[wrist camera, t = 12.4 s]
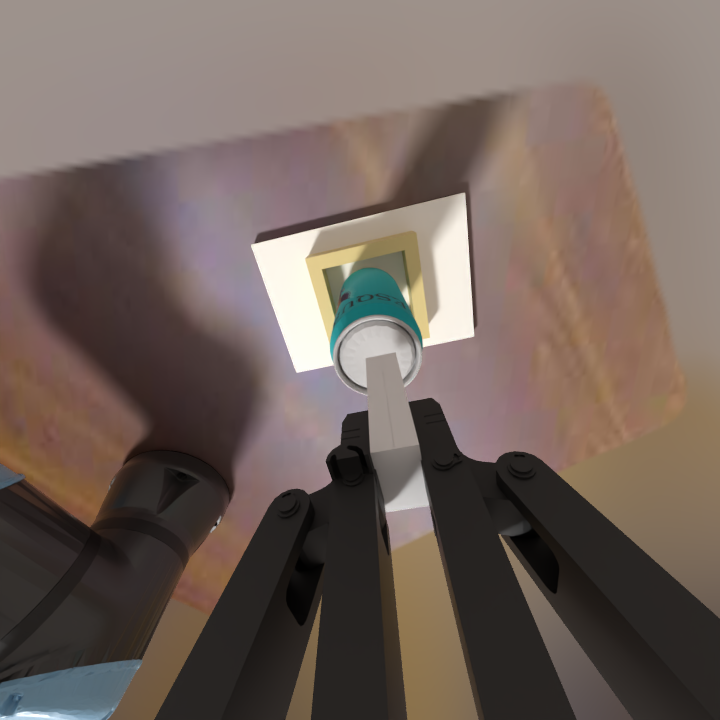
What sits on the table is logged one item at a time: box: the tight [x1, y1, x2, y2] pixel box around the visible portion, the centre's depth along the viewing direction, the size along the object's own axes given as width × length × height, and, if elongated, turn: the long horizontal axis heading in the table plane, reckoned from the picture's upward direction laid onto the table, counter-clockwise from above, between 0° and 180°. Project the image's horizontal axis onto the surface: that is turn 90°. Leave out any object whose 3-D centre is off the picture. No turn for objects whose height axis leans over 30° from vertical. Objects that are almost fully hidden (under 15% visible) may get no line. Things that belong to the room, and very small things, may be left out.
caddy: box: [251, 193, 474, 373], centre depth 31 cm, size 20×14×4 cm
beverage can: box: [330, 268, 423, 395], centre depth 25 cm, size 6×6×15 cm
